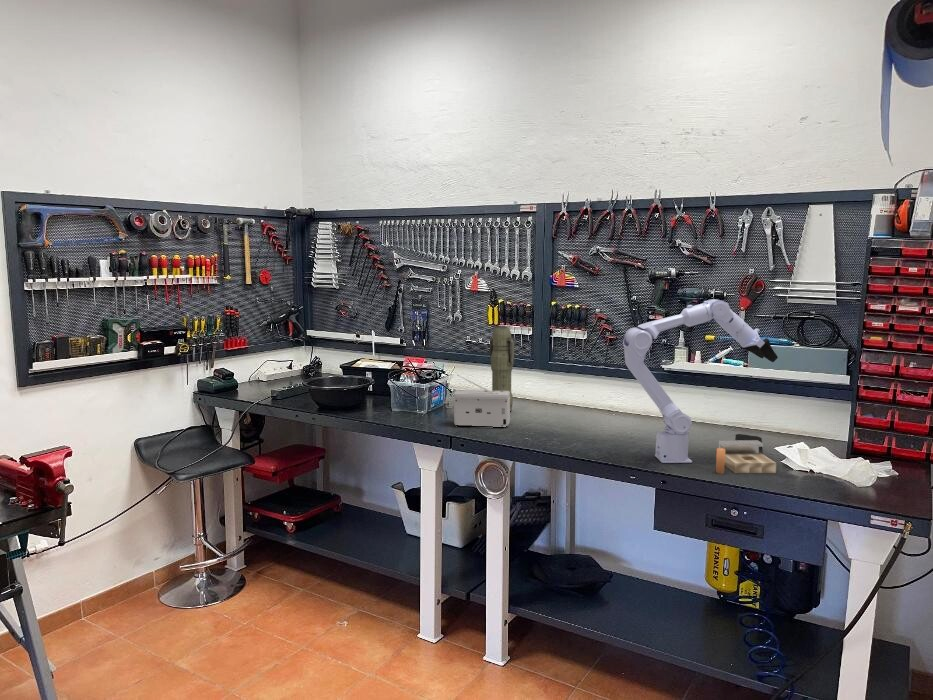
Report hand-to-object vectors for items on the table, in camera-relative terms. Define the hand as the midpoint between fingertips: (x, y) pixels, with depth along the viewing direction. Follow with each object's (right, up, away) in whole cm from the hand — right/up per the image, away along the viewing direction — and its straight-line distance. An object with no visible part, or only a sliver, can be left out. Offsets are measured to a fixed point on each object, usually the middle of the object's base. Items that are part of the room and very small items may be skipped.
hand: (769, 357), depth 211 cm
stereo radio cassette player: (-87, -26, +48) cm, 103 cm away
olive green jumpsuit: (-78, -23, +73) cm, 110 cm away
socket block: (-8, -33, -5) cm, 34 cm away
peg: (-18, -34, -9) cm, 39 cm away
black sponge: (-1, -31, +14) cm, 34 cm away
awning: (-8, -32, +1) cm, 33 cm away
